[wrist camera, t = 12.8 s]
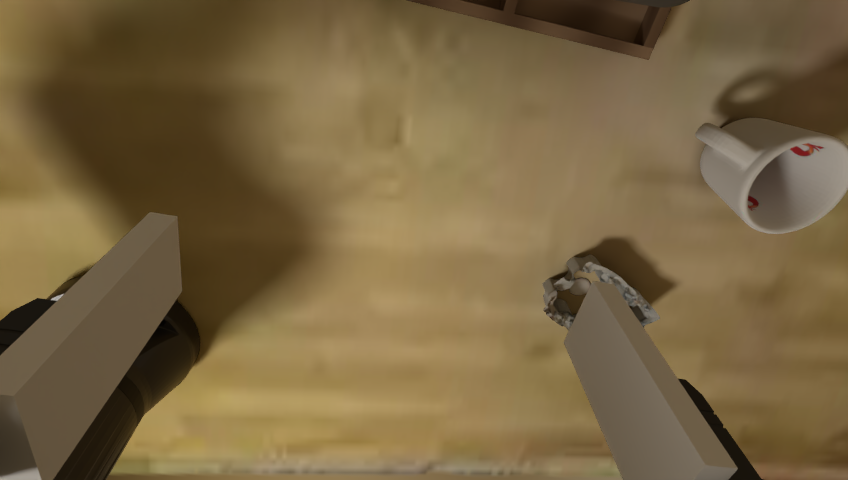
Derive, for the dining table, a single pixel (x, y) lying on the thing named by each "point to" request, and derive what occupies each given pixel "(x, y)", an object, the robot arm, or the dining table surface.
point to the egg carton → (580, 286)
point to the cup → (774, 172)
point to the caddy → (573, 20)
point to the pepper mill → (657, 2)
